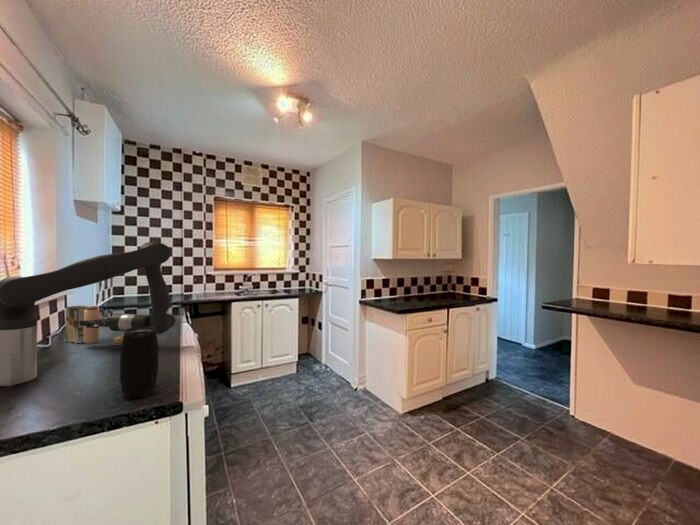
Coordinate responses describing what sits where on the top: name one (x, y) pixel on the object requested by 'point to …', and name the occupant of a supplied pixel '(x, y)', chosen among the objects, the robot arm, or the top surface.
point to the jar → (91, 333)
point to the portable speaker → (139, 362)
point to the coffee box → (74, 324)
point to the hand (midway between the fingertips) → (85, 321)
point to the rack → (117, 340)
